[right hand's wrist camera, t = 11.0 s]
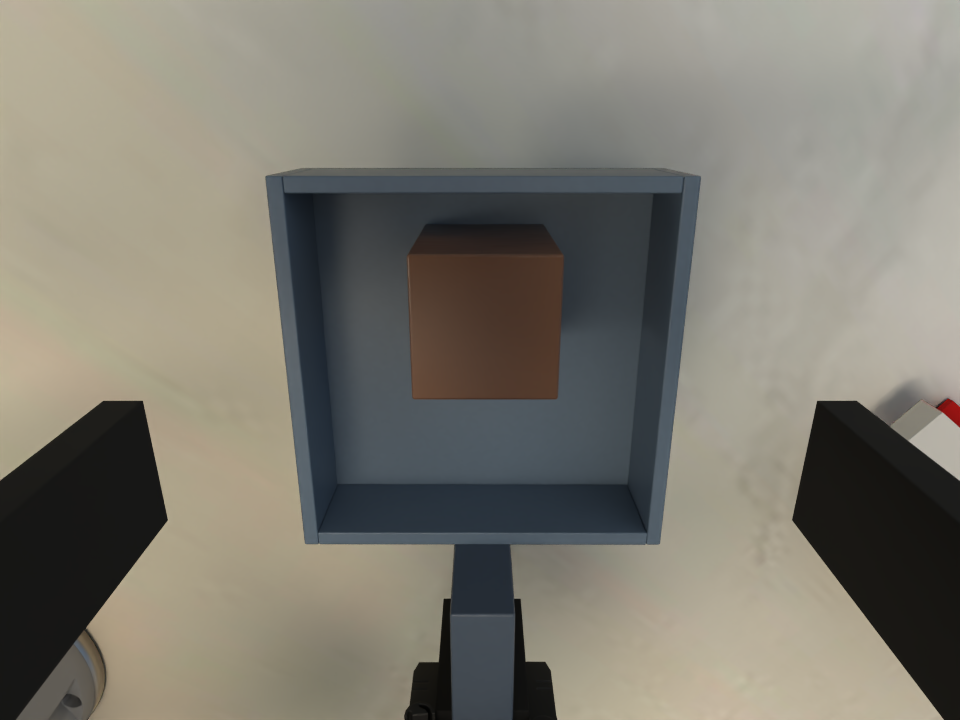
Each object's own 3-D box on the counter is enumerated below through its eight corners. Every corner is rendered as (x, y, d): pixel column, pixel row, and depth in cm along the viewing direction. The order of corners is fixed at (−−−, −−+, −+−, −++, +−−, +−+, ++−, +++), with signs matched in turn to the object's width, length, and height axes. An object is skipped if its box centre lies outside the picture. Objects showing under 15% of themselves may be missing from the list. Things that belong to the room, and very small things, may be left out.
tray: (344, 645, 35) (300, 807, 27) (301, 168, 27) (218, 185, 18) (620, 645, 35) (663, 808, 27) (664, 168, 27) (749, 185, 18)
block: (428, 337, 29) (411, 400, 22) (424, 223, 27) (406, 254, 20) (540, 338, 29) (558, 400, 22) (544, 223, 27) (564, 254, 20)
